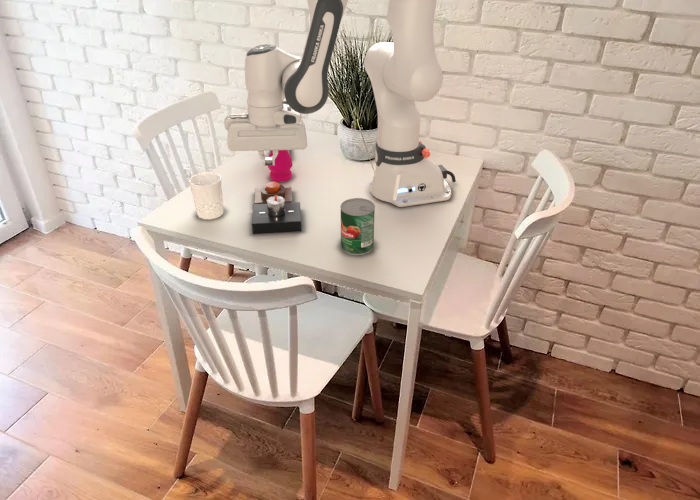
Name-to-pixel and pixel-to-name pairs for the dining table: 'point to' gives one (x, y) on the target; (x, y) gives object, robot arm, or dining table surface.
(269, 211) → the hob knob
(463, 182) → the dining table surface
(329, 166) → the dining table surface
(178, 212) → the dining table surface
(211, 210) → the white cup
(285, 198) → the button box
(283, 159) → the pepper mill
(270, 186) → the button
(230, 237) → the dining table surface
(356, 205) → the canned tomato
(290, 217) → the hob panel
